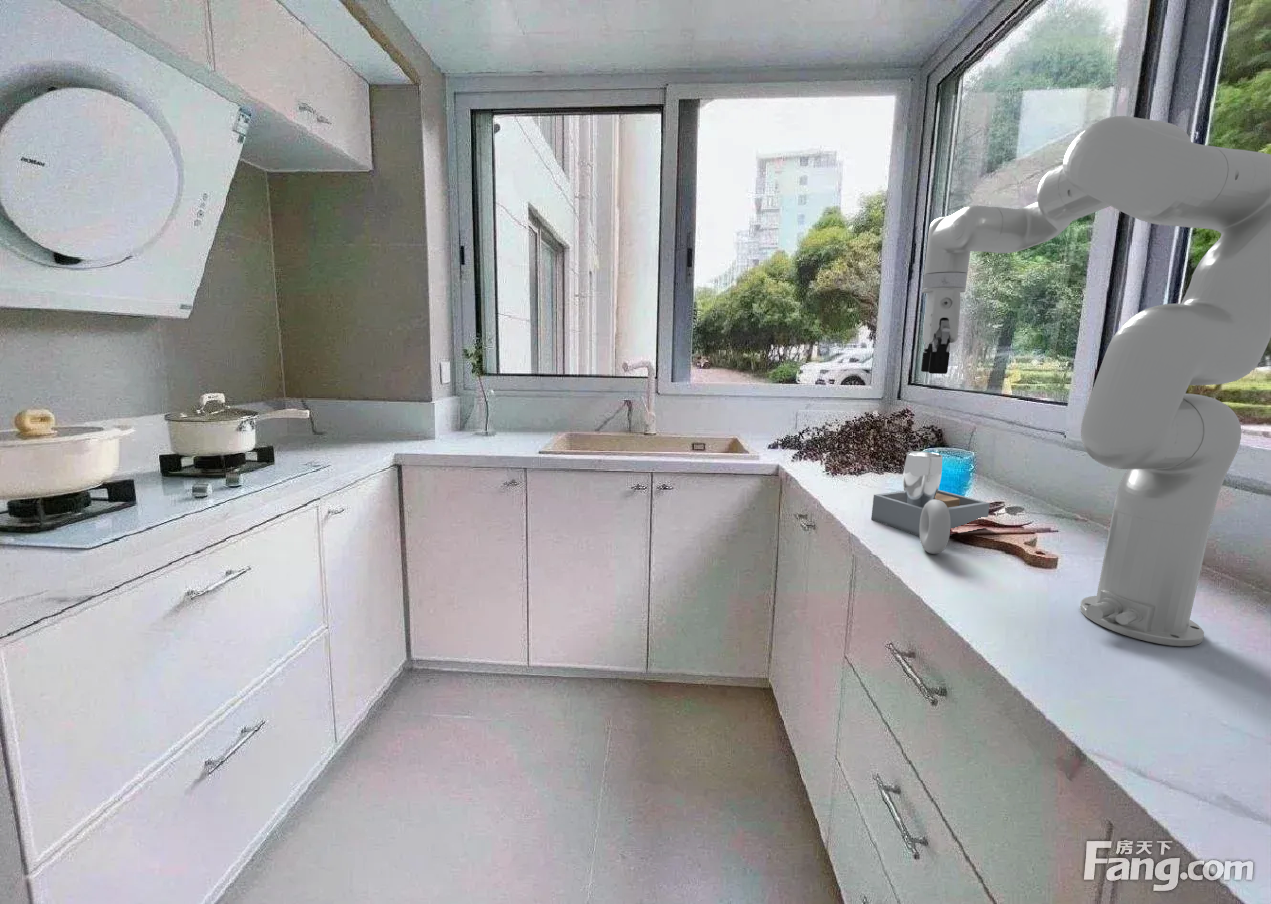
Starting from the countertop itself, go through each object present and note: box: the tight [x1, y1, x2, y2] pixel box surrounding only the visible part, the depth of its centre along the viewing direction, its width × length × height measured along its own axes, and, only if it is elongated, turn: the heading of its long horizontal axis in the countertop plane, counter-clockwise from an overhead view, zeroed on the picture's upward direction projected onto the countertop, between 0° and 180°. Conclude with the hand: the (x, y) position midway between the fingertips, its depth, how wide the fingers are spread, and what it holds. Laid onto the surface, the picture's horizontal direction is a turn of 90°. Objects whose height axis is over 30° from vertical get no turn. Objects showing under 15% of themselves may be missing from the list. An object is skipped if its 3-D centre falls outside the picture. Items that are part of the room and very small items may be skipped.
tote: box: [870, 489, 991, 537], centre depth 118 cm, size 18×14×6 cm
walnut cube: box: [935, 493, 960, 508], centre depth 120 cm, size 5×5×5 cm
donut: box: [919, 499, 951, 555], centre depth 101 cm, size 10×4×10 cm, turn 165°
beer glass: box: [902, 450, 943, 508], centre depth 115 cm, size 7×7×15 cm
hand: (933, 372), depth 111 cm, fingers open, 9 cm apart
